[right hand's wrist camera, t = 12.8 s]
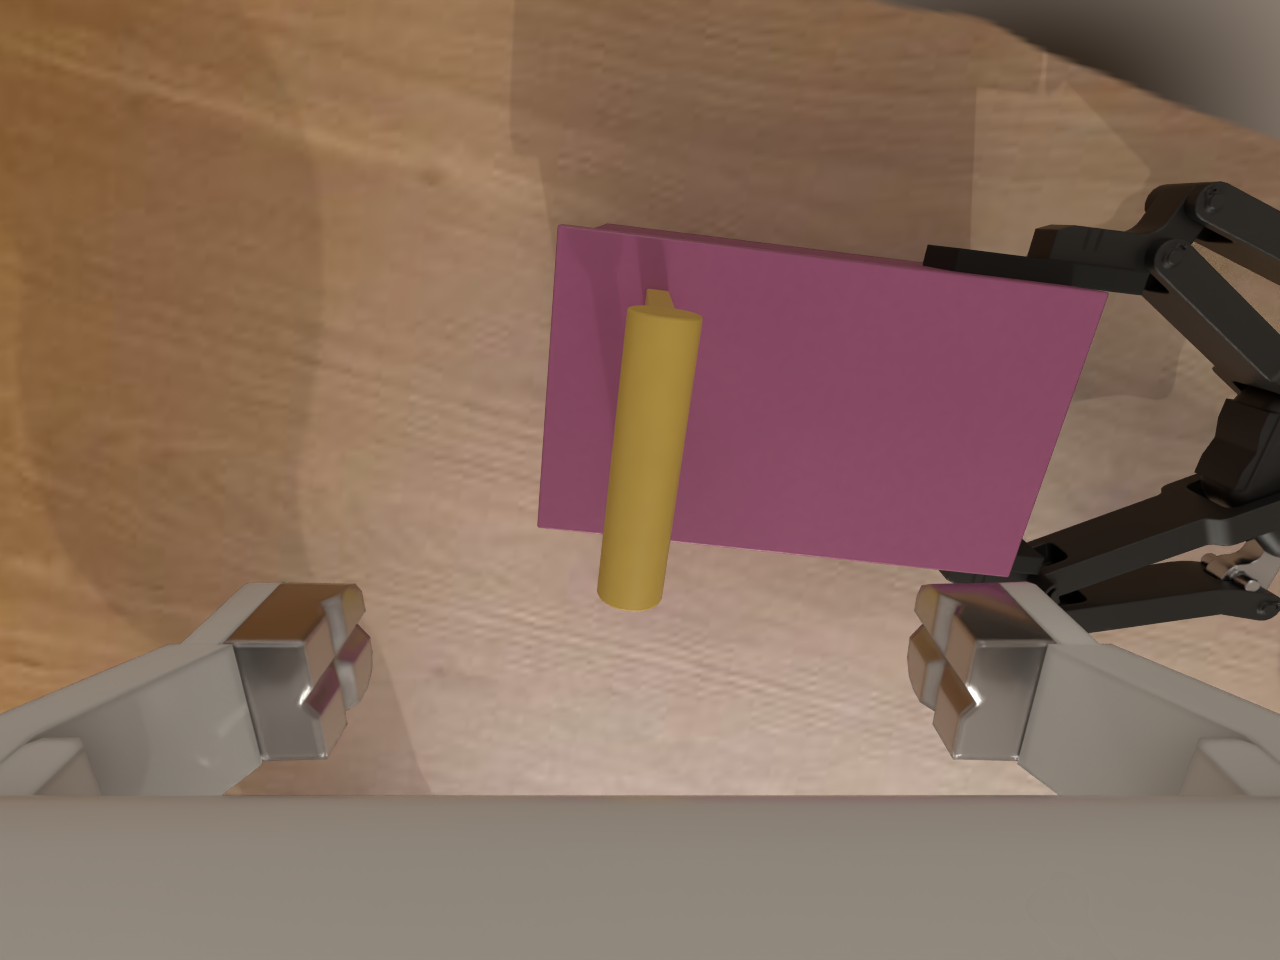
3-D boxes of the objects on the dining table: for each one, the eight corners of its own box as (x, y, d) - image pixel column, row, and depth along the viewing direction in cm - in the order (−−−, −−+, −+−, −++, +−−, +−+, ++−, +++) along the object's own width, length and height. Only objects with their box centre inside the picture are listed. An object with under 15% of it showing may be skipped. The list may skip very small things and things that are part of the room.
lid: (540, 518, 25) (498, 645, 18) (560, 223, 21) (518, 230, 14) (998, 566, 26) (1140, 708, 18) (1093, 289, 22) (1318, 328, 15)
